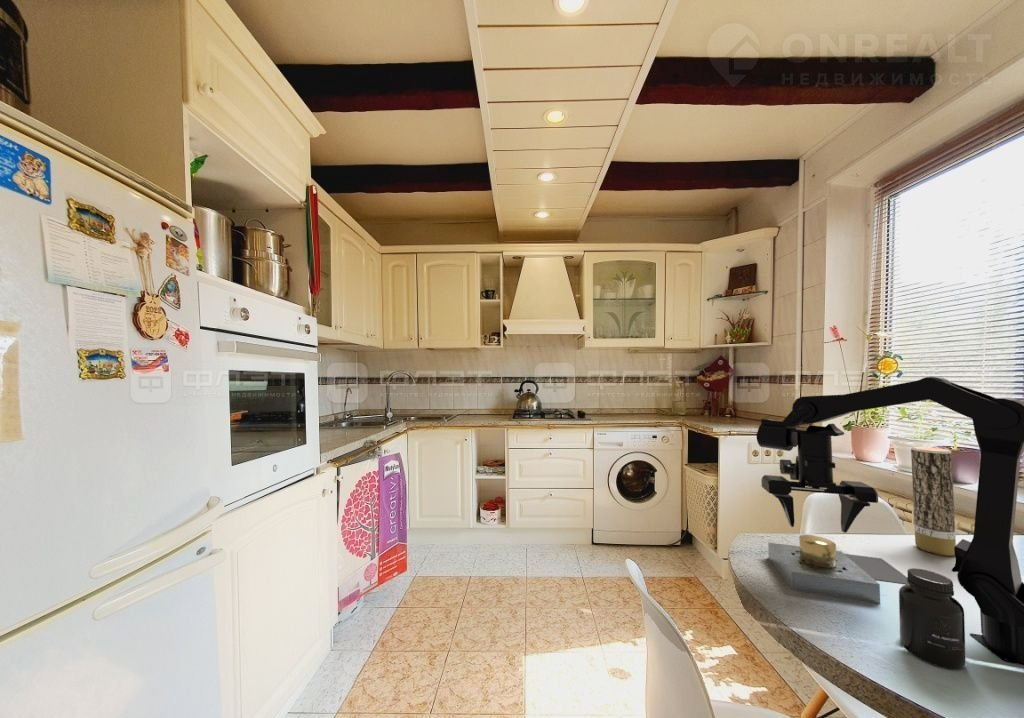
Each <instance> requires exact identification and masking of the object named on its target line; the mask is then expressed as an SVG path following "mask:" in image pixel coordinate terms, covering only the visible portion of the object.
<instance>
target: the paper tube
mask: <svg viewBox="0 0 1024 718" xmlns="http://www.w3.org/2000/svg"><path fill="white" fill-rule="evenodd" d="M910 455H911V456H910V458H911V476H912V477H911V479H912V496H913V497H912V498H913V501H912V502H913V522H914V524H913V525H914V543H915V545H916V547H917V548H919V549H921V550H922V551H925V552H928V553H930V554H934V555H939V556H945V557H951V556H955V553H954V547H955V546H956V545H957V543H956V542H957V541H956V538H957V537H956V522H955V520H956V517H955V499H954V497H955V495H954V479H953V478H954V477H953V475H954V473H953V459H952V458H953V456H952V450H950V449H945V448H941V447H940V448H939V447H932V446H931V447H929V446H911V449H910Z"/></svg>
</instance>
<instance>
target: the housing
mask: <svg viewBox="0 0 1024 718" xmlns="http://www.w3.org/2000/svg"><path fill="white" fill-rule="evenodd" d="M767 547H768V559H769V561H771V564H773V566H774V567H775V569H776V570H777V571H778V573H779V574H780V576H781V577H782V578H783V580H784V581H785V582H786V583H787V585H788V587H789V588H790V589H791V590H792V591H794V592H795V591H796V592H802V593H803V592H804V593H809V594H815V595H822V596H827V597H835V598H840V599H841V598H842V599H847V600H855V601H861V602H867V603H868V602H869V603H874V604H878V605H881V589H880V588H881V587H880V583H879V582H877V580H874V579H873V578H872V577H871V576H869V575H868V574H867V573H866V572H865V571H863V570H862V569H861V568H860V567H859V566H858V565H856V564H855V563H854V562H853V561H852V560H851V559H849V558H848V557H847V556H846V555H845V554H846V553H843V552H842V551H841V550H840V551H839V550H836V566H835V567H832V568H825V567H819V566H815V565H812V564H809V563H807V562H805V561H804V560H803V559H802V558H801V557H800V545H791V544H784V543H783V544H782V543H776V542H768V546H767Z"/></svg>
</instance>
